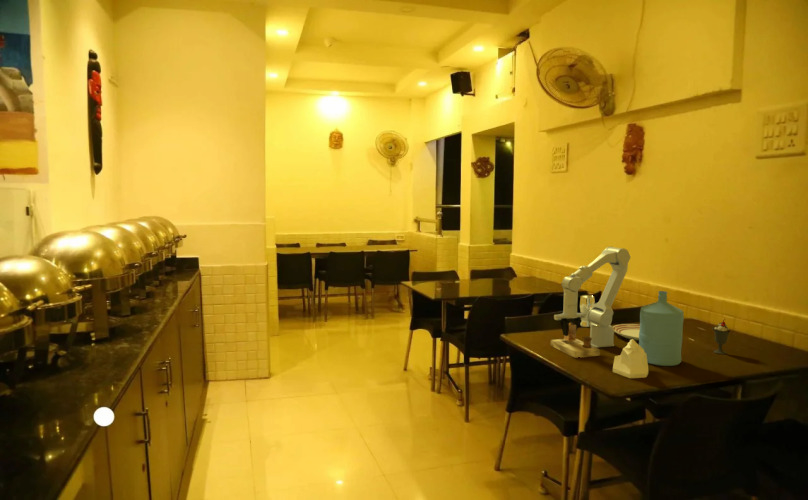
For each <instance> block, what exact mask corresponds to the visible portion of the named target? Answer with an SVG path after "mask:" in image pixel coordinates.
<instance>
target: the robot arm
mask: <svg viewBox="0 0 808 500" xmlns="http://www.w3.org/2000/svg"><path fill="white" fill-rule="evenodd" d="M630 260H631V255H630V252H629V251H628V249H626V248H623V247H622V248H620V247H614V246H607V247H605V249H603V250H602V252H601V253H600V254H599V255H598V256H597V257H596V258H595V259H594V260H593V261H592V262H590V263H589V264H587V265H582V266H579V267H578V269H577V270H576V271H575V272H572V273H571V274H570V275H569V276H568V275H567V276H564V278H562V281H561V282H560V284H561V287H562V289H563V291H562V292H563V310H562V313H558V314H554V315H553V319H554V320H555V321H558V323H559V325H560V327H561V330H562V335H563V336H564V335H565V336H567V334H568V325H569V323H574V324H576V332H578V328H579V326H581V325H580V323H581V321H582V320H581V318H586V314H585V313H581V312H578V301H579V300H578V298H579V296H578V295H579V293H578V292H579V291H580V289H581V287H582V286H583V283H585V282H587V280H589V279H590V278H592V277H593V272H596V271H597V270H598V269H600V268H601V267H603V266H604V265H605V264H607V263H608V264H609V265H610V266H611V268H612V272H610V276H609V278H608V280H607V283H606V285H605V287H604V290H603V291H602V294H601V296H600V298H599V300H598V302H595V304H594V305H593V307H592V308H591V309H590V310H589V312H588V315H587V317H588V319H589V321H590V324H591V327H589V329H590V330H589V331H590V332H589V334H590V335H589V337H591V338H592V340H591V346H593V347H595V348H598V349H599V348H607V347H615V344H614V339H615V338H614V337H615V336H614V335H615V332H614V330H613V325H611V324H612V321H613V316H614V311H613V309H612V306H613V304H614V301H615V299H616V297H617V295H618V292H619V290H620V289H621V286H622V284H623V281H624V279H625V276H626V274H627V272H628V270H629V269H628V267H629V262H630ZM569 319H570V321H569Z"/></svg>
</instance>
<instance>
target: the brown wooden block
mask: <svg viewBox="0 0 808 500" xmlns="http://www.w3.org/2000/svg"><path fill="white" fill-rule="evenodd" d="M563 339H565V340H567V341H576V339H577V331H576V324H574V323H571V322H569V325H568V334H567V336H565V335H563Z"/></svg>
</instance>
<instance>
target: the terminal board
mask: <svg viewBox="0 0 808 500" xmlns="http://www.w3.org/2000/svg"><path fill="white" fill-rule="evenodd" d="M582 340H583V341H582ZM582 340H580V339H578V338H576V341H567V340H565V339H564V338H558V339H550V347H552V348H555V349H557V350H559V351H560V352H562V353H563V354H566V355H568V356H570V357H572V358H573V357H574V359H577V358H578V357H580V358H587V357H588V358H589V357H596V356H597V357H598V356H599V357H600V356H601V350H600V348H599V347H598V348H596V347H594V346H592V345H591V340H592V338H591V337H590V336H583V337H582Z"/></svg>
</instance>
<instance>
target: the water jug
mask: <svg viewBox="0 0 808 500" xmlns="http://www.w3.org/2000/svg"><path fill="white" fill-rule="evenodd" d="M657 293H658V297H657V301H656V302H655V301H654V302H652V303H649V304H646V305H643V306H641V307H640V311H639V325H640V331H639V341H638V345H640V346H641V347H642V348H643V349H644V352H645V353H646V355H647V362H648V365H649V364H650V365H655V366H660V367H674V366H678V365H680V363H682V345H683V329H684V328H683V327H684V320H685V319H684V317H685V316H684V311H683V309H680V308H678V307H677V306H675V305H673V304H671V303H670V302H668V301H667V300H668V295H667V294H668V292H667V291H664V290H663V291H662V290H659V291H657Z"/></svg>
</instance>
